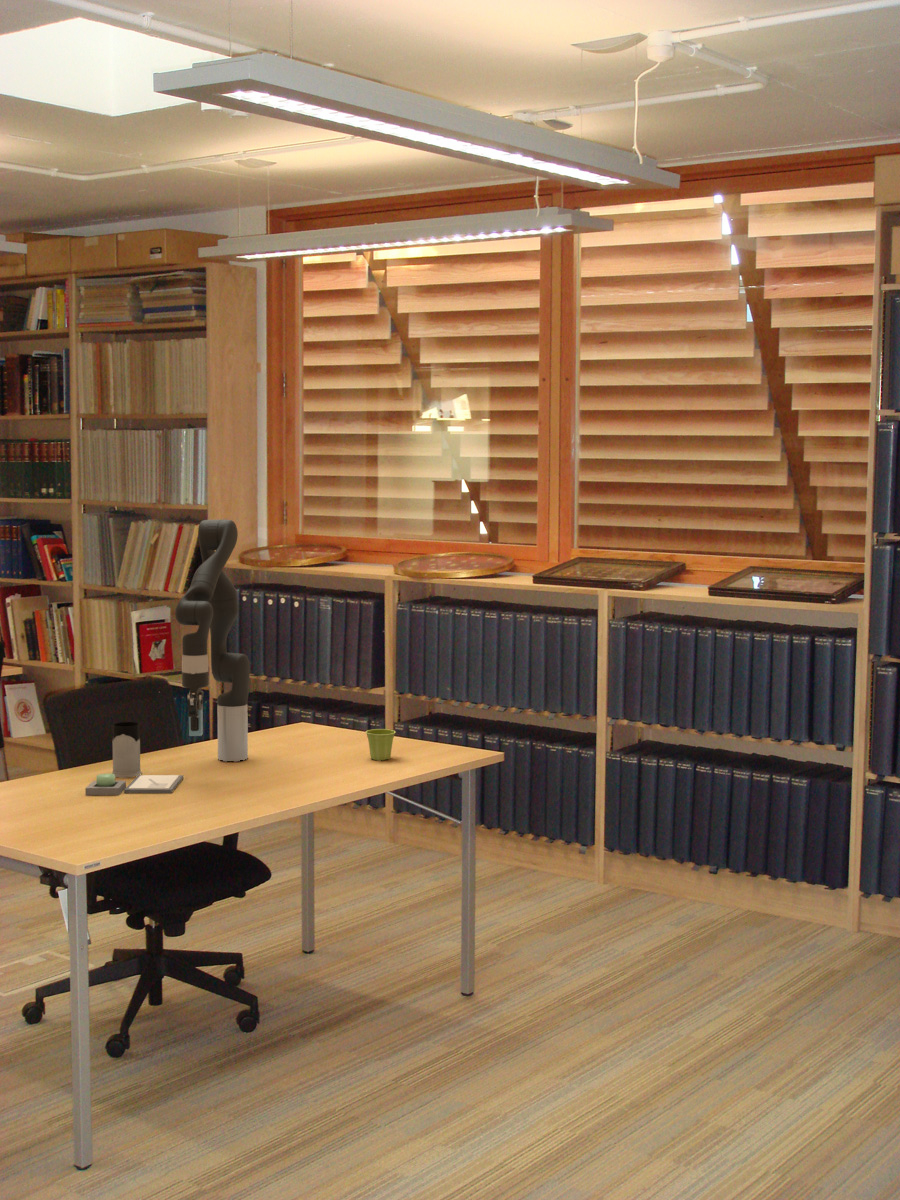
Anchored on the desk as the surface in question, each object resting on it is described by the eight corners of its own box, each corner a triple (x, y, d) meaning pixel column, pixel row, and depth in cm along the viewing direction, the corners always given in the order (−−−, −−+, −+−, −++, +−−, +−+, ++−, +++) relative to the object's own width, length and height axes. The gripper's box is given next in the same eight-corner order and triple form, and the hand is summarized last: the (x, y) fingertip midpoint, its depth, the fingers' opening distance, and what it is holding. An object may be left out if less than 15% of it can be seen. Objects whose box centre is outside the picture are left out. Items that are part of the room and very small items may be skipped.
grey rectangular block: (190, 733, 372) (190, 702, 371) (203, 733, 372) (202, 702, 371) (188, 736, 368) (188, 705, 367) (201, 736, 368) (200, 705, 367)
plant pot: (367, 755, 407) (367, 728, 406) (396, 755, 407) (396, 728, 406) (364, 761, 398) (364, 734, 397) (394, 762, 397) (394, 734, 397)
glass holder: (108, 777, 373) (107, 726, 372) (119, 767, 387) (119, 718, 386) (138, 777, 373) (137, 727, 372) (148, 767, 388) (148, 718, 386)
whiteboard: (138, 778, 373) (138, 774, 372) (183, 778, 373) (183, 774, 373) (124, 793, 355) (124, 788, 355) (171, 793, 355) (171, 788, 355)
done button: (99, 782, 359) (98, 773, 359) (117, 782, 359) (116, 773, 359) (94, 786, 354) (94, 777, 354) (112, 786, 354) (112, 777, 354)
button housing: (93, 787, 361) (93, 780, 361) (125, 787, 361) (125, 780, 361) (85, 795, 352) (85, 788, 352) (118, 795, 352) (118, 788, 352)
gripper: (186, 666, 375) (187, 724, 377) (177, 673, 361) (178, 734, 362) (212, 666, 375) (212, 724, 377) (204, 673, 361) (205, 734, 363)
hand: (195, 729), depth 370 cm, fingers closed on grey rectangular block, 3 cm apart
